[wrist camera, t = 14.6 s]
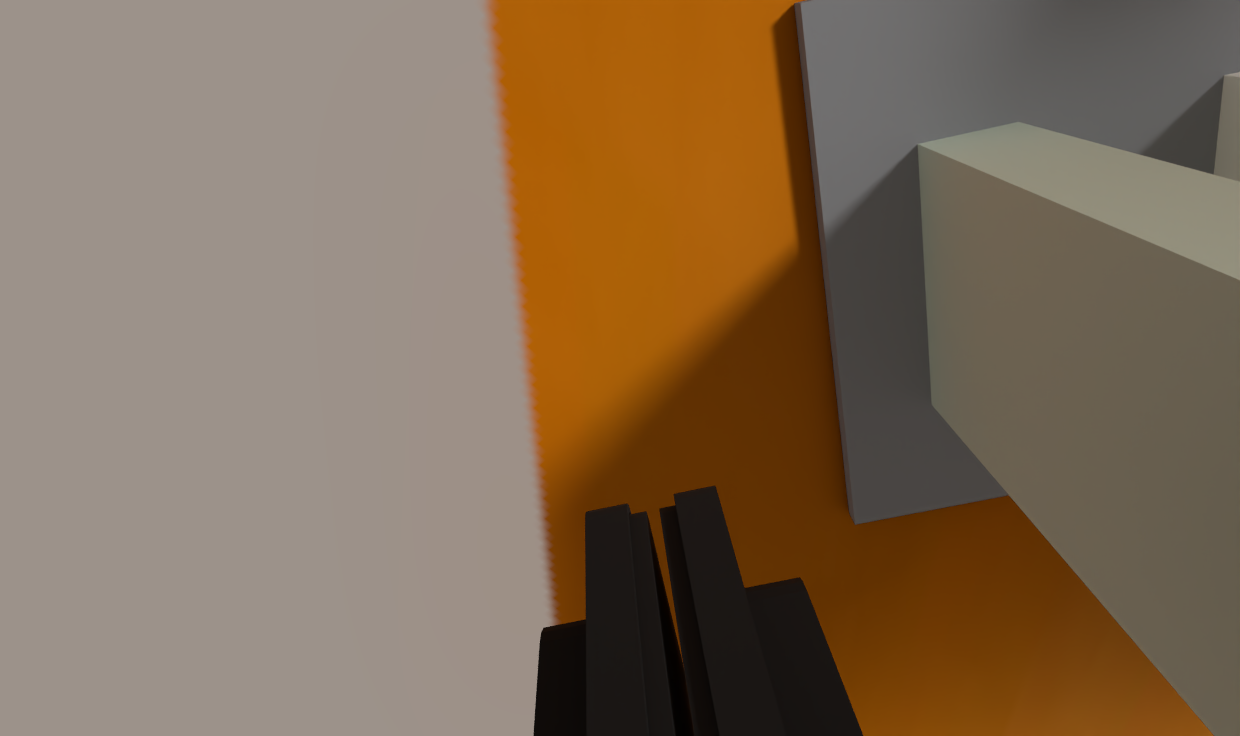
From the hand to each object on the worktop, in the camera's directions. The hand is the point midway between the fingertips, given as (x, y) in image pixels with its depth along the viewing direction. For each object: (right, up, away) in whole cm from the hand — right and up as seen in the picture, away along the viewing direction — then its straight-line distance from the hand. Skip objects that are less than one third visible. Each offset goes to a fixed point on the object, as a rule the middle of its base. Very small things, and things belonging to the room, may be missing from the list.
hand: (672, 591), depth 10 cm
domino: (+7, +5, +7) cm, 11 cm away
